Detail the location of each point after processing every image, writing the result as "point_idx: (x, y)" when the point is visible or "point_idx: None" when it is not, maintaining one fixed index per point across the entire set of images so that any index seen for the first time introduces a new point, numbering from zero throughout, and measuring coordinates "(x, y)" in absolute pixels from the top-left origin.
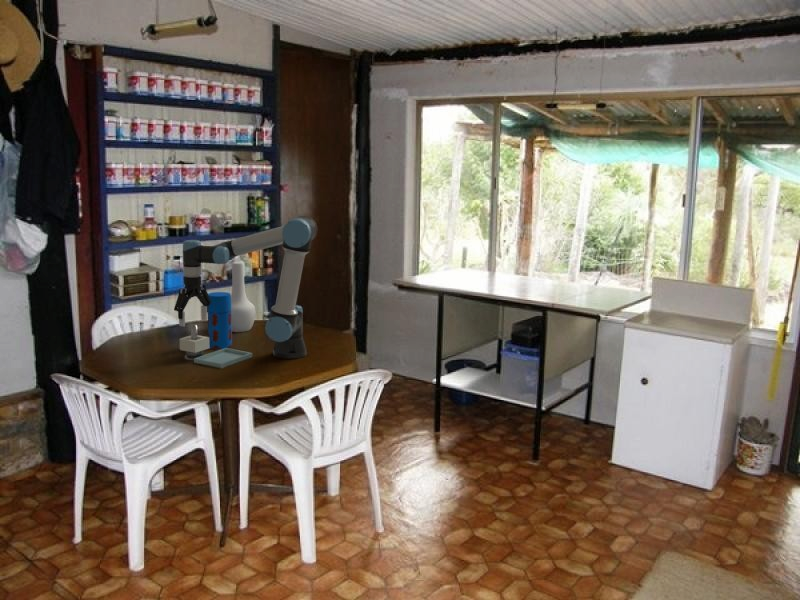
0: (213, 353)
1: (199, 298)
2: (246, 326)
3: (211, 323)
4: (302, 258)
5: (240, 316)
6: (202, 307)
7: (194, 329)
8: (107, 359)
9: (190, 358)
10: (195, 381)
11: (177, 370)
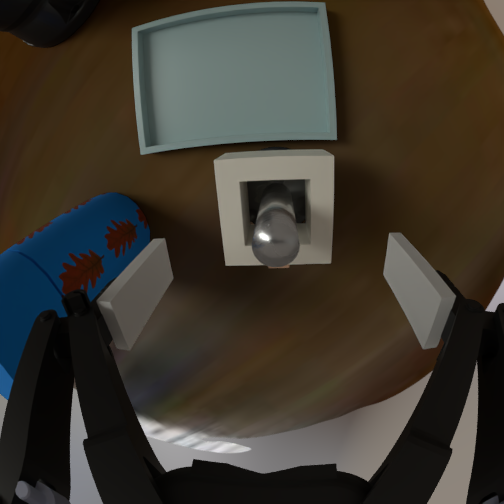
0: (220, 137)
1: (130, 412)
2: None
3: (101, 279)
4: None
5: None
6: (130, 328)
7: (290, 218)
8: (407, 362)
9: None
10: (457, 21)
11: (427, 131)
